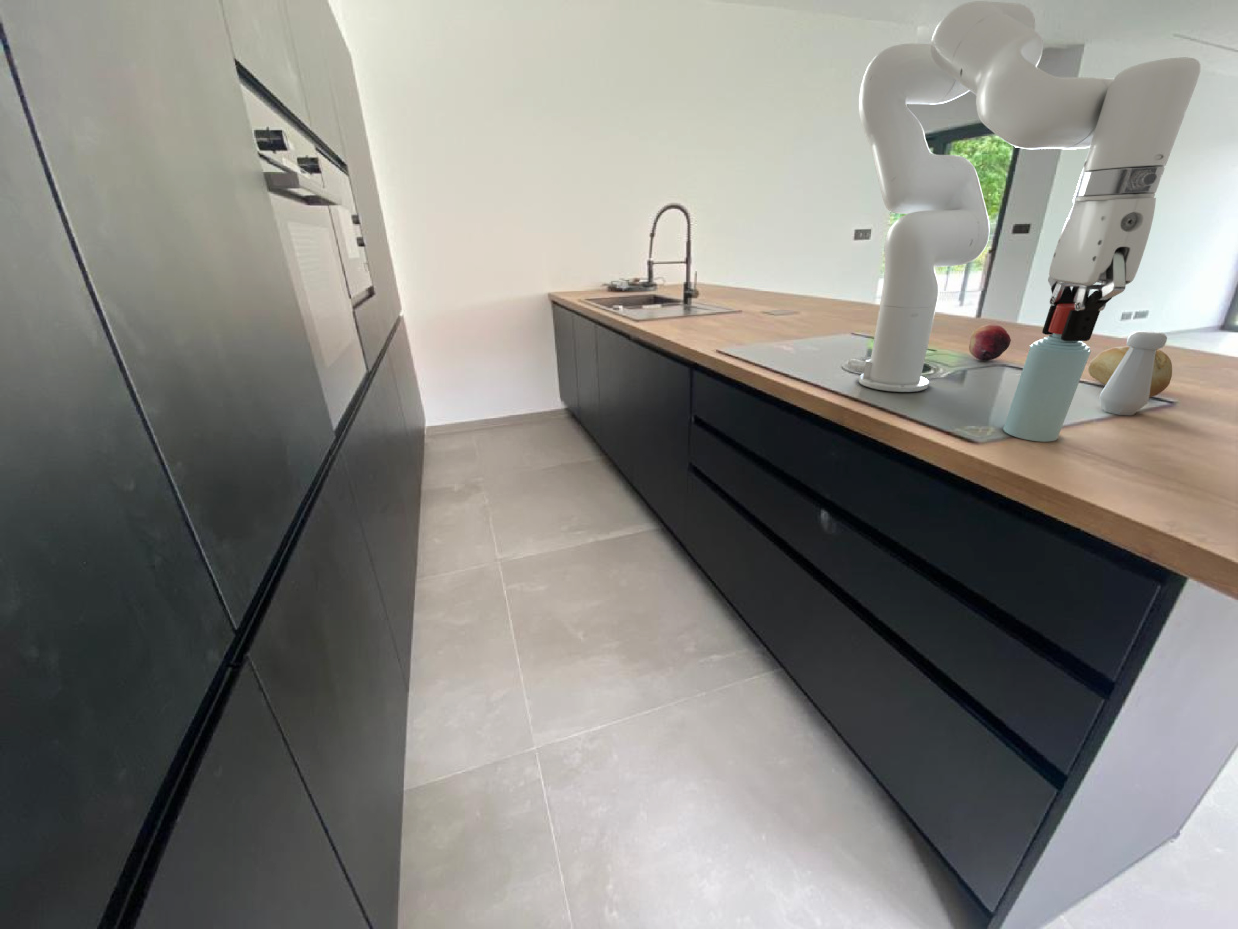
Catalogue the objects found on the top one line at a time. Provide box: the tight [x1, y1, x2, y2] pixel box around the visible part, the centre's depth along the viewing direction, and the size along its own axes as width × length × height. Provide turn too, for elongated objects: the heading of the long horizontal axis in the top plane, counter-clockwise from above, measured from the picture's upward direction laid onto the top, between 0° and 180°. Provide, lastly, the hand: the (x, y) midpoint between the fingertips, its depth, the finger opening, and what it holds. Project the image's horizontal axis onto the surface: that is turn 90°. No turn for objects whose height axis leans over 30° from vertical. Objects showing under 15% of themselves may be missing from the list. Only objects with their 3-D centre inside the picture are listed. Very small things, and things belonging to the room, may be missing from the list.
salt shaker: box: [1099, 330, 1168, 416], centre depth 80 cm, size 6×6×13 cm
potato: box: [1087, 345, 1173, 398], centre depth 92 cm, size 10×15×8 cm, turn 166°
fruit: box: [968, 324, 1012, 362], centre depth 115 cm, size 8×8×8 cm
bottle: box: [1003, 333, 1092, 443], centre depth 72 cm, size 7×7×18 cm
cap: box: [1048, 303, 1076, 335], centre depth 69 cm, size 4×4×4 cm
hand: (1065, 335), depth 69 cm, fingers closed on cap, 3 cm apart
